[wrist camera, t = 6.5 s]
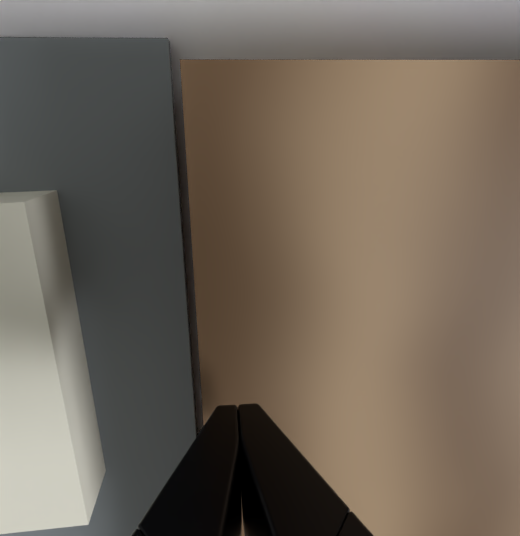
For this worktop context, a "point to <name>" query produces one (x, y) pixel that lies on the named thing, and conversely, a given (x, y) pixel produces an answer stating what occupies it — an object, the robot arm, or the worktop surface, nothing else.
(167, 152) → the mat
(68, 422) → the cream box
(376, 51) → the worktop surface
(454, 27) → the worktop surface
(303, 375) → the deck
